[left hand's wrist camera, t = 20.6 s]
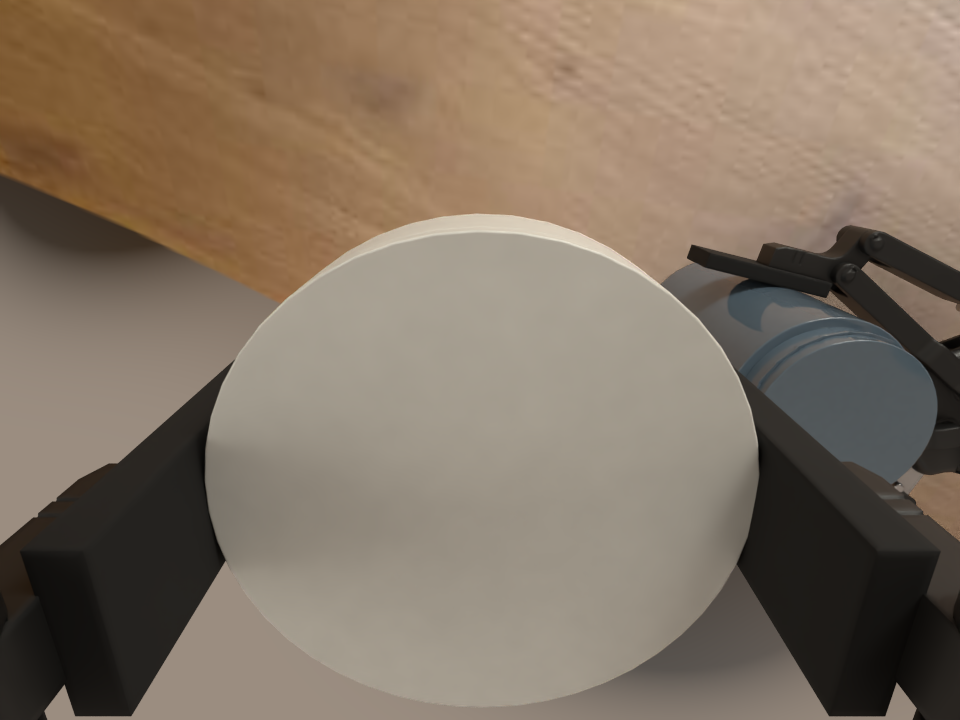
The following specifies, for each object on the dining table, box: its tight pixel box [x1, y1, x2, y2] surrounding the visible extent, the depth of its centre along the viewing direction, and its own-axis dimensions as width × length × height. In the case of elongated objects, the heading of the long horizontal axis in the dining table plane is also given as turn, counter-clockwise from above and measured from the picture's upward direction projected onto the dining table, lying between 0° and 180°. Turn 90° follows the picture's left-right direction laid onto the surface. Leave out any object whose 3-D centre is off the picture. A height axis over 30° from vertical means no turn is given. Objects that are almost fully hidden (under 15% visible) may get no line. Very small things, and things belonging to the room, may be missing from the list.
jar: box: [661, 263, 937, 484], centre depth 31 cm, size 8×8×15 cm
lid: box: [205, 214, 759, 707], centre depth 11 cm, size 9×9×2 cm
